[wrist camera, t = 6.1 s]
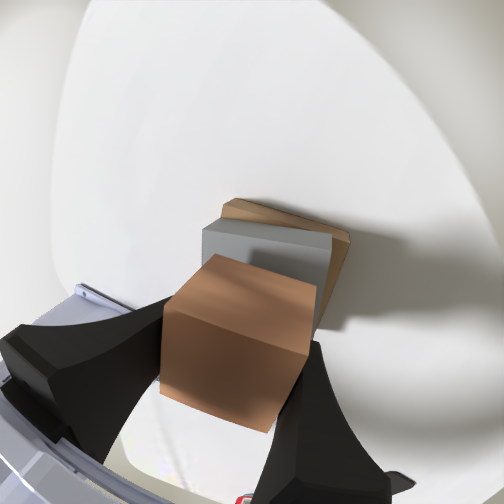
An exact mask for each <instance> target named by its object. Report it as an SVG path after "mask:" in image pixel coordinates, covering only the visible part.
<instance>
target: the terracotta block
mask: <svg viewBox="0 0 504 504" xmlns="http://www.w3.org/2000/svg"><path fill="white" fill-rule="evenodd" d="M316 287H317V286H315V285H312V284H309V283H305V282H302V281H299V280H296V279H293V278H290V277H287V276H284V275H280V274H277V273H274V272H271V271H268V270H265V269H262V268H259V267H256V266H252V265H249V264H246V263H243V262H240V261H237V260H234V259H231V258H228V257H225V256H222V255H219V254H216V253H215V254H214V255H213V256H212V257H211V258H210V259H209V260H208V261H207V262H206V263H205V264H204V265H203V266H202V267H201V268H200V269H199V270H198V271H197V272H196V273H195V274H194V275H193V276H192V277H191V278H190V279H189V280H188V281H187V282H186V283H185V284H184V285H183V286H182V287H181V288H180V289H179V290H178V291H177V293H176V294H175V295H174V296H173V297H172V298H171V299H170V300H169V301H168V302H167V303H166V304H165V305H164V313H163V327H162V343H161V364H160V394H162V395H165V396H167V397H169V398H171V399H173V400H176V401H178V402H180V403H183V404H185V405H187V406H190V407H192V408H195V409H197V410H200V411H202V412H205V413H207V414H210V415H213V416H215V417H218V418H221V419H224V420H226V421H229V422H232V423H235V424H238V425H241V426H244V427H247V428H250V429H254V430H257V431H260V432H264V433H268V431H269V430H270V428H271V426H272V424H273V423H274V421H275V419H276V417H277V416H278V414H279V412H280V410H281V408H282V406H283V405H284V403H285V401H286V399H287V397H288V395H289V393H290V392H291V390H292V388H293V386H294V384H295V382H296V380H297V378H298V376H299V374H300V372H301V370H302V368H303V366H304V364H305V362H306V360H307V358H308V356H309V349H310V341H311V333H312V325H313V316H314V307H315V297H316Z"/></svg>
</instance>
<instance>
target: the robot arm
mask: <svg viewBox="0 0 504 504" xmlns="http://www.w3.org/2000/svg"><path fill="white" fill-rule="evenodd" d="M74 290H75V294H73V295H72V296H70V297H69V298H67V299H66V300H64V301H63V302H62V303H60V304H58V305H57V306H55V307H54V308H53V309H51V310H50V311H48V312H47V313H45V314H44V315H42V316H41V317H39V318H38V319H37V320H35V321H34V322H33V323H32V324H31V325H25V324H21V325H19V326H18V327H17V328H15V329H14V330H12V331H11V332H10V333H8V334H7V335H6V336H4V337H3V338H1V339H0V352H1V355H2V357H3V360H2V361H1V362H0V504H121V503H119V502H117V501H115V500H114V499H112V498H110V497H109V496H107V495H106V494H104V493H102V492H101V491H99V490H98V489H96V488H95V487H93V486H92V485H90V484H89V483H87V482H86V481H84V480H86V479H87V478H88V479H89V480H91V481H92V482H94V483H95V484H97V485H99V486H100V487H102V488H104V489H105V490H107V491H108V492H110V493H111V494H113V495H115V496H117V497H118V498H120V499H122V500H123V501H125V502H127V503H129V504H175V503H172V502H170V501H168V500H166V499H164V498H161V497H159V496H157V495H155V494H153V493H151V492H149V491H147V490H145V489H143V488H141V487H139V486H137V485H135V484H134V483H132V482H130V481H128V480H127V479H125V478H123V477H121V476H120V475H118V474H116V473H114V472H113V471H111V470H110V469H108V468H106V467H105V466H103V463H104V461H105V459H106V457H107V455H108V453H109V451H110V449H111V447H112V445H113V443H114V441H115V439H116V438H117V436H118V434H119V432H120V431H121V429H122V427H123V425H124V424H125V422H126V420H127V419H128V417H129V415H130V414H131V412H132V410H133V409H134V407H135V406H136V404H137V403H138V401H139V399H140V398H141V396H142V395H143V394H144V392H145V391H146V390H147V388H148V387H149V386H150V385H151V384H154V383H155V381H156V377H157V376H158V375H159V374H160V364H161V343H162V327H163V313H164V305H165V304H166V303H167V302H168V301H169V300H170V299H171V298H172V297H173V296H174V295H173V296H170V297H168V298H166V299H163V300H161V301H158V302H156V303H153V304H151V305H148V306H146V307H143V308H141V309H138V310H135V311H130V310H128V309H126V308H124V307H122V306H120V305H118V304H116V303H114V302H112V301H110V300H108V299H106V298H104V297H102V296H100V295H98V294H97V293H95V292H93V291H91V290H89V289H87V288H85V287H83V286H82V285H80V284H77V285H75V287H74ZM250 504H392V487H391V479H390V478H389V477H388V476H387V475H386V474H385V472H384V471H383V470H382V469H381V468H380V467H379V466H378V465H377V464H376V463H375V462H374V461H373V459H372V458H371V457H370V456H369V454H368V453H367V452H366V451H365V449H364V448H363V447H362V445H361V444H360V442H359V441H358V439H357V438H356V436H355V434H354V433H353V431H352V430H351V428H350V426H349V425H348V423H347V421H346V419H345V417H344V415H343V413H342V411H341V409H340V407H339V404H338V402H337V400H336V397H335V395H334V392H333V389H332V386H331V384H330V380H329V377H328V374H327V371H326V367H325V364H324V360H323V356H322V351H321V346H320V344H319V342H316V341H313V340H311V341H310V349H309V356H308V358H307V360H306V362H305V364H304V366H303V368H302V370H301V372H300V374H299V376H298V378H297V380H296V382H295V384H294V386H293V388H292V390H291V392H290V393H289V395H288V397H287V399H286V401H285V403H284V405H283V406H282V408H281V410H280V412H279V414H278V418H277V423H276V428H275V433H274V438H273V442H272V445H271V449H270V452H269V455H268V457H267V460H266V463H265V466H264V469H263V471H262V474H261V477H260V479H259V482H258V485H257V487H256V490H255V492H254V494H253V497H252V499H251V502H250Z"/></svg>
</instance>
